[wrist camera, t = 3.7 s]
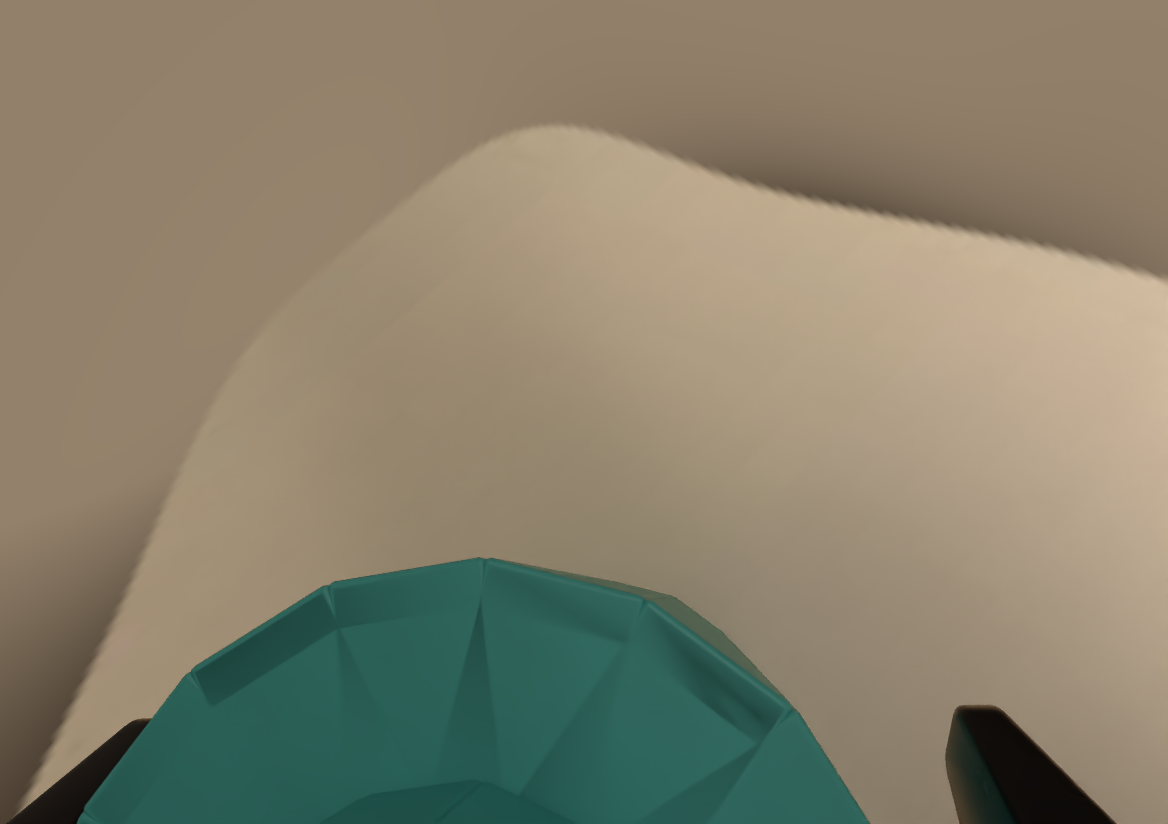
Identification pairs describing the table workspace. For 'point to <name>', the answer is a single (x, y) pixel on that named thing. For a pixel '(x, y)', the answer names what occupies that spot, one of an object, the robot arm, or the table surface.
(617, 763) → the detergent bottle
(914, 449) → the table surface
